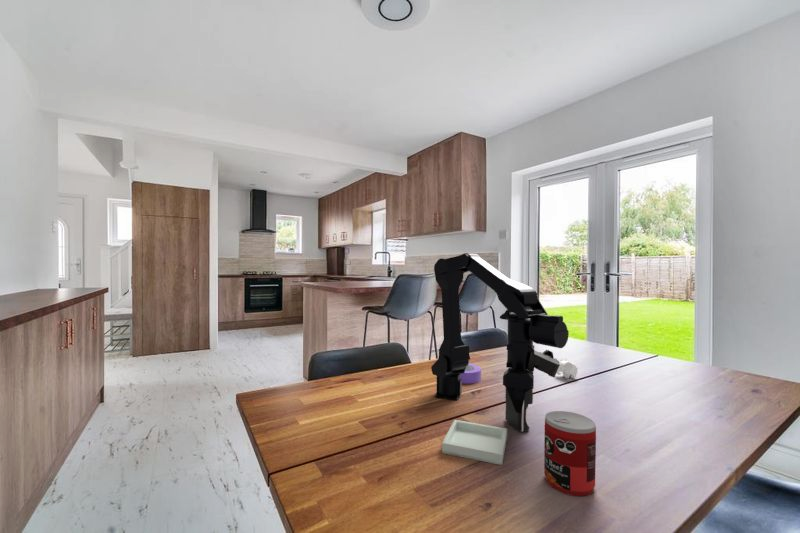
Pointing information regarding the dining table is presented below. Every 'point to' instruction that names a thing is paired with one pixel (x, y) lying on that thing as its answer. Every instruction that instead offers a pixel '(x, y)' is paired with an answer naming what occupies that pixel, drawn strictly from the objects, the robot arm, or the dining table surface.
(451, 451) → the shallow rectangular tray
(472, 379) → the masking tape
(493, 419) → the dining table surface
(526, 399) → the battery charger
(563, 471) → the canned food
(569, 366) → the elephant figurine
